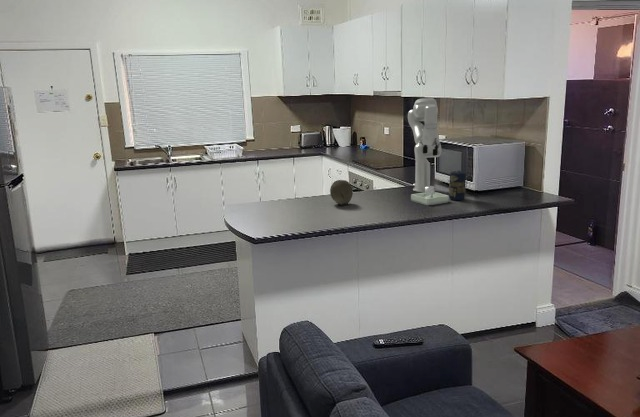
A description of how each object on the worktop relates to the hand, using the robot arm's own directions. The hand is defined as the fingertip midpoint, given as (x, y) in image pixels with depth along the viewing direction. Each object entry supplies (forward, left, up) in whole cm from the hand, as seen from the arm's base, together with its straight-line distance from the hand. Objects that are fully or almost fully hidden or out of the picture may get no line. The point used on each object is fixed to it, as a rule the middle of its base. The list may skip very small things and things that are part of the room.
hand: (430, 154), depth 321 cm
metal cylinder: (+9, -7, -26) cm, 29 cm away
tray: (+9, -7, -27) cm, 29 cm away
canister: (+14, +10, -28) cm, 32 cm away
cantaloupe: (-15, -55, -28) cm, 63 cm away
